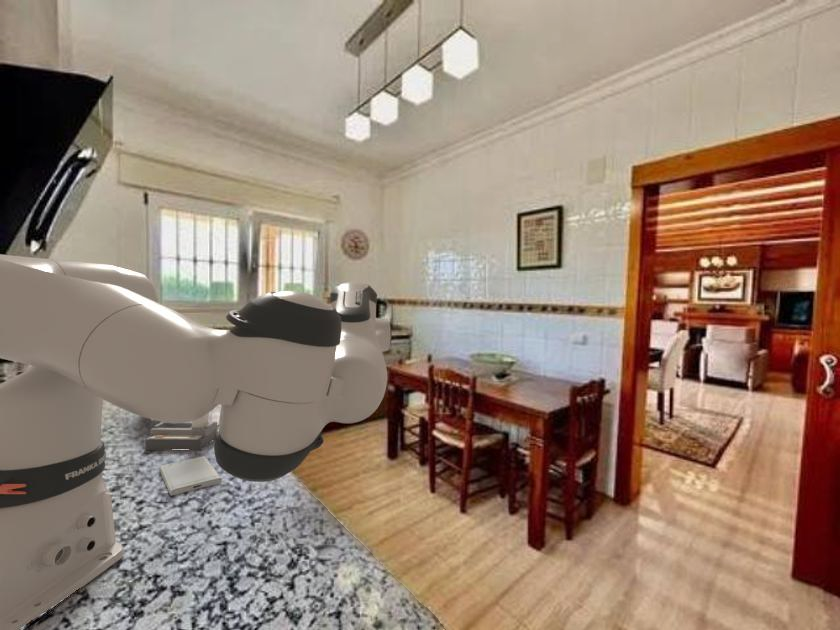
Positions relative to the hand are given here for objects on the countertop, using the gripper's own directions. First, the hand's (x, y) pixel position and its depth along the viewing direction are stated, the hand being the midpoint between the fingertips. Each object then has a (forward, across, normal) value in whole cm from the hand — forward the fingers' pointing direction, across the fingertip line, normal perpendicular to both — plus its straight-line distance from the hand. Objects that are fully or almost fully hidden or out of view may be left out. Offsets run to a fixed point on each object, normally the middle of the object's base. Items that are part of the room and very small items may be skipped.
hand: (265, 333), depth 91 cm
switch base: (+18, 0, -26) cm, 32 cm away
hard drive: (+8, -18, -27) cm, 34 cm away
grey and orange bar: (+15, 0, -24) cm, 28 cm away
